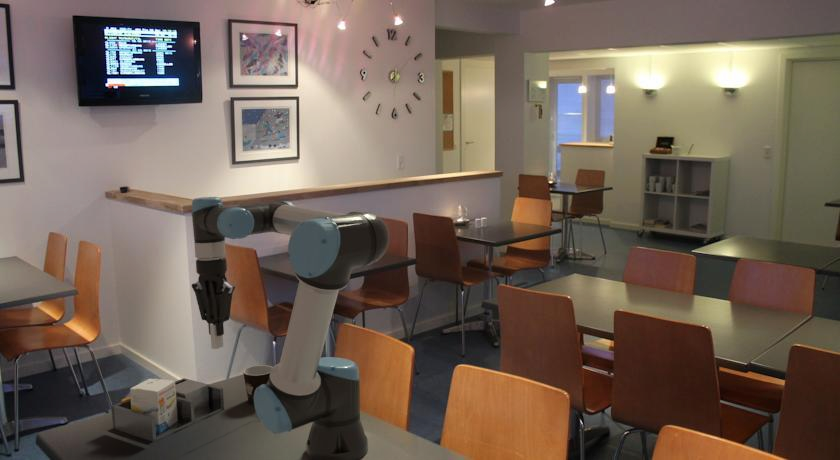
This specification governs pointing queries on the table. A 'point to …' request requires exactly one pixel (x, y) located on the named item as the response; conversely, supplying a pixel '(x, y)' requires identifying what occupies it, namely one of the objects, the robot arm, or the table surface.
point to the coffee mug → (255, 379)
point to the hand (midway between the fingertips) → (217, 347)
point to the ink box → (156, 401)
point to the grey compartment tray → (145, 424)
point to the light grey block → (194, 394)
